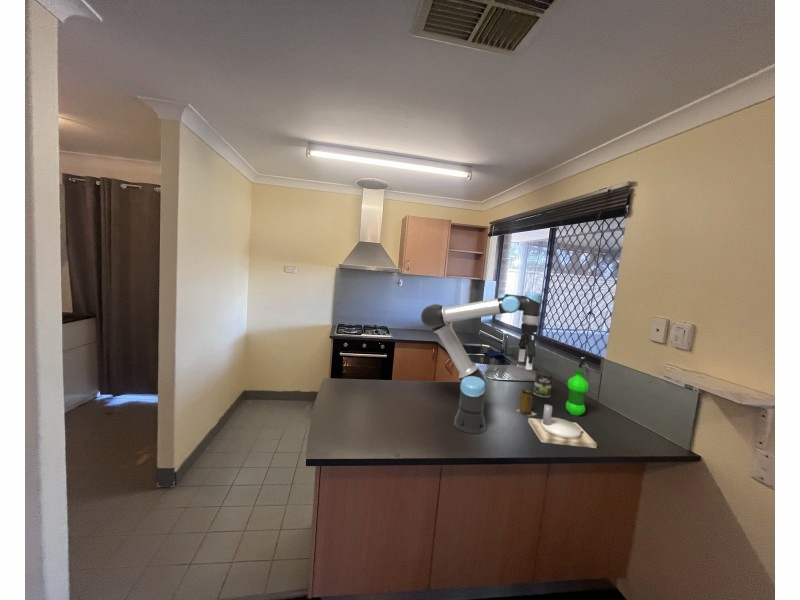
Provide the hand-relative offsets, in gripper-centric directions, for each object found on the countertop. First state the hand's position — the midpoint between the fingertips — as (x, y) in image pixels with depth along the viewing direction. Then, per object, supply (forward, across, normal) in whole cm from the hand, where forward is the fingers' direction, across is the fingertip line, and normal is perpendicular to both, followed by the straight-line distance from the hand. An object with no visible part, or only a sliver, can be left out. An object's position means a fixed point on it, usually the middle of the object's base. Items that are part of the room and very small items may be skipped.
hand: (524, 365), depth 156 cm
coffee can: (+31, +47, -27) cm, 62 cm away
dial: (+28, -6, -18) cm, 34 cm away
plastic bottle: (+30, +21, -37) cm, 52 cm away
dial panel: (+30, -6, -18) cm, 36 cm away
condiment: (+31, +16, -9) cm, 36 cm away
